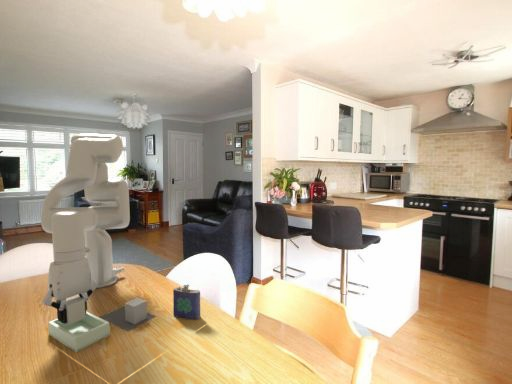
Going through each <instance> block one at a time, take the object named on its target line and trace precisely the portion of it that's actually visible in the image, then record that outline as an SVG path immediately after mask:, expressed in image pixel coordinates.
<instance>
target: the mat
mask: <svg viewBox="0 0 512 384" xmlns="http://www.w3.org/2000/svg"><path fill="white" fill-rule="evenodd" d="M157 316H158V315H155V314H153V313H150V312H148V311H147V318H146V319H144V320H142V321H140V322H138V323H136V324H133V323H131V322H128V321H126V320H125V305H123V306H121V307H118V308H116V309H114V310H111V311H109V312H107V313H105V314H103V315H100V316H99V318H101V319H103V320H105V321H107V322H109V324H112V325H114V326H116V327H119V328H120V329H123V330H125V331H127V332H130V331H132V330H133V329H136V328H137V327H138V328H139V327H140V326H141V325H143V324H145V323H147V322H149V321H151V320H153V319H155V318H156V317H157Z"/></svg>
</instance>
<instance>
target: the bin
mask: <svg viewBox="0 0 512 384" xmlns="http://www.w3.org/2000/svg"><path fill="white" fill-rule="evenodd" d="M85 316H86V318H84V319H82V320H79V321H77V322H74V323H72V324H70V325H68V324H66V323H65V324H64V323H62V322H60V321H58V318H56V319H53V320H52V319H51V320H50V321H48V322H47V323H48V335H49V337H50V336H51V338H52V339H54V340H56V341H58V342H60V343H61V344H63V345H64V346H65V347H66V348H69V349H70V350H72V351H73V352H74V353H77V352H80V351H82V350H84V349H86V348H88V347H90V346H91V345H94V344H95V343H97V342H100V341H101V340H103V339H106V338H107V337H110V335H111V334H110V333H111V331H110V322H108V321H106V320H104V319H102V318H100V316H96V315H95V314H93V313H91V312H88V311H87V310H86V315H85Z"/></svg>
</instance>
